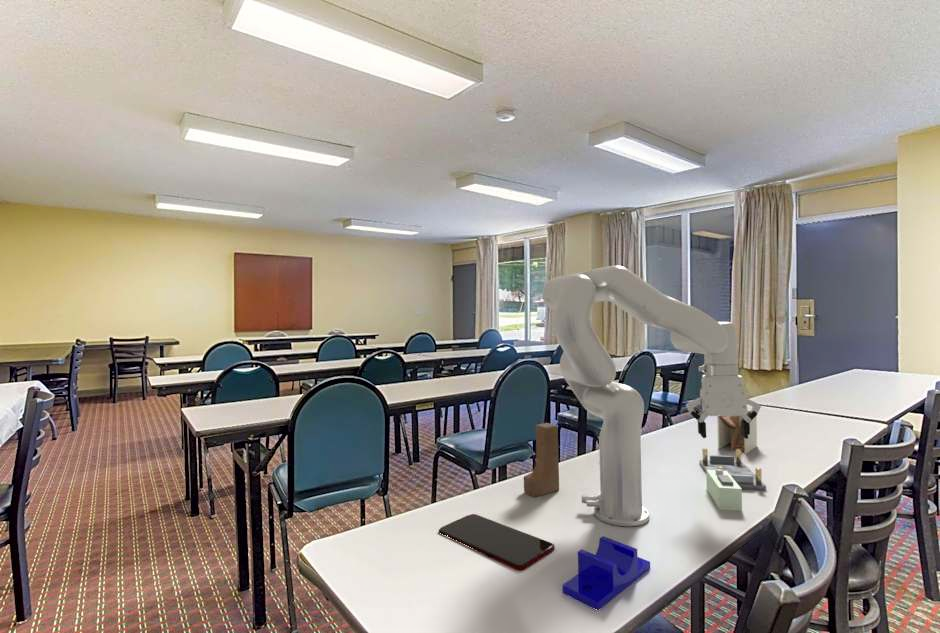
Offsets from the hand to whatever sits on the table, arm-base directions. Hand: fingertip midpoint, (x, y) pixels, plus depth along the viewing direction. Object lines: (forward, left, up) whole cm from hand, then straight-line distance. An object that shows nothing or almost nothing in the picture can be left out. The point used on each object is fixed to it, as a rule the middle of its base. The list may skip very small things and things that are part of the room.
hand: (723, 436), depth 123 cm
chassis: (+6, +18, -16) cm, 25 cm away
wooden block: (-46, -2, -16) cm, 49 cm away
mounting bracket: (-31, -43, -17) cm, 55 cm away
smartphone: (-54, -31, -17) cm, 65 cm away
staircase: (+17, +48, -17) cm, 53 cm away
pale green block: (0, 0, -16) cm, 16 cm away
